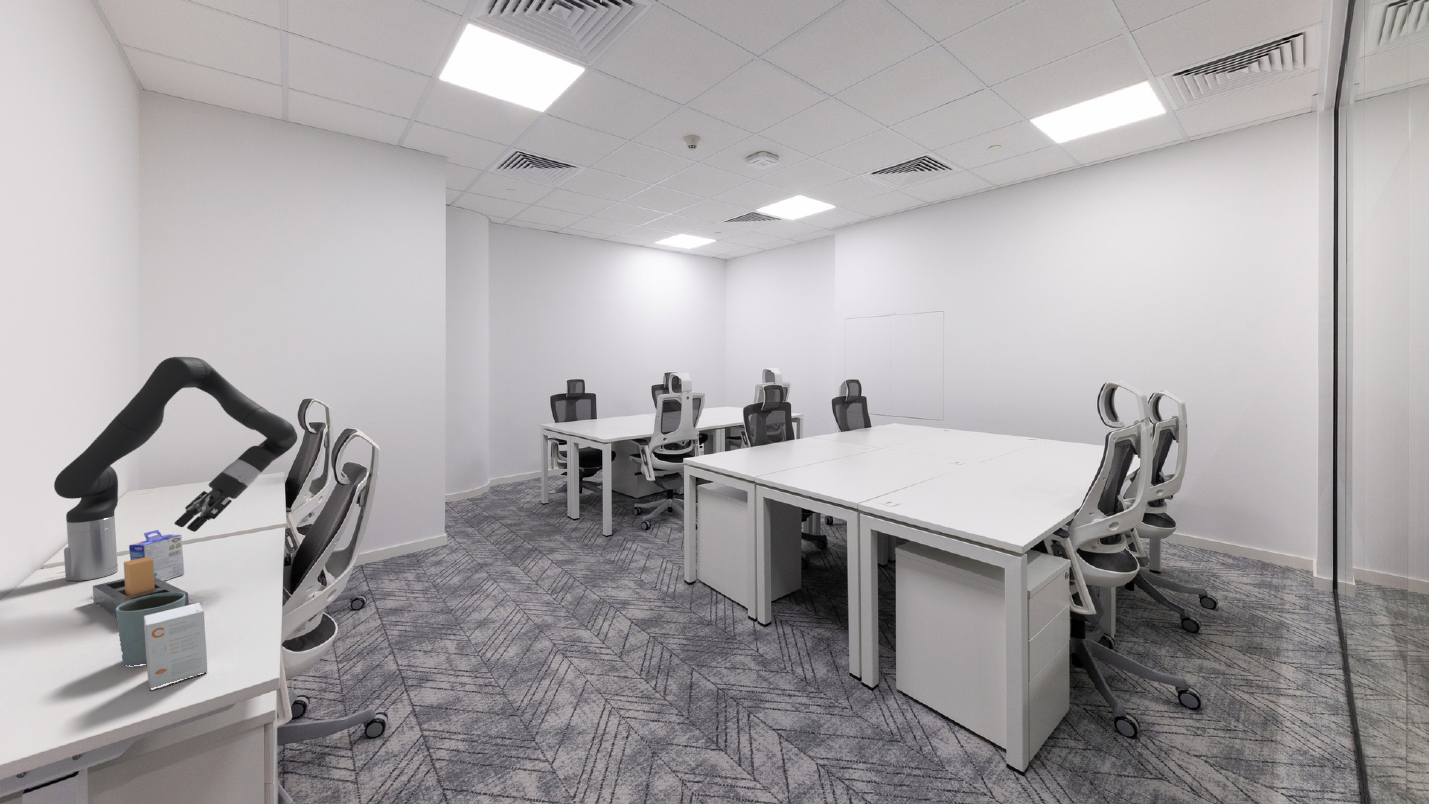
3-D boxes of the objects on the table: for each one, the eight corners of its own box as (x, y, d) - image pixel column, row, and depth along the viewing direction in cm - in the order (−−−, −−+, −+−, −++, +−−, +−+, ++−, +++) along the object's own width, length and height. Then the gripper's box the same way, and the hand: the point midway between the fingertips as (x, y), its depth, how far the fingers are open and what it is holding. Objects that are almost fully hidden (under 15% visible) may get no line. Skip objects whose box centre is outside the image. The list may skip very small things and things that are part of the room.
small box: (203, 662, 110) (200, 601, 109) (208, 673, 106) (204, 610, 105) (146, 679, 104) (142, 615, 103) (148, 692, 100) (145, 625, 99)
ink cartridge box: (169, 573, 159) (166, 526, 158) (185, 574, 158) (183, 526, 157) (130, 586, 149) (127, 536, 148) (147, 587, 148) (144, 537, 147)
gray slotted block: (93, 602, 138) (92, 585, 138) (147, 589, 147) (146, 573, 147) (132, 626, 125) (131, 608, 125) (189, 610, 134) (188, 592, 134)
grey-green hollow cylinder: (111, 661, 110) (108, 605, 110) (177, 639, 119) (174, 587, 119) (129, 674, 106) (125, 615, 105) (196, 650, 115) (193, 596, 114)
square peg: (132, 607, 133) (129, 564, 133) (126, 604, 135) (123, 562, 135) (155, 601, 137) (153, 559, 136) (149, 597, 139) (146, 557, 138)
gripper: (212, 469, 153) (159, 517, 144) (234, 473, 147) (180, 524, 137) (236, 483, 158) (187, 531, 149) (258, 488, 152) (208, 538, 142)
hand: (184, 527), depth 143 cm, fingers open, 8 cm apart
